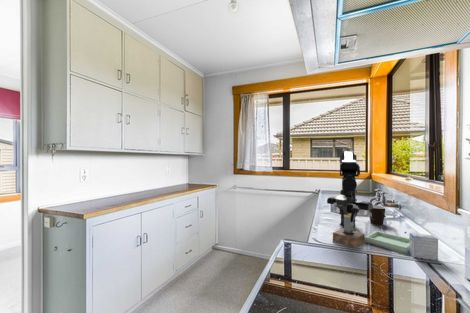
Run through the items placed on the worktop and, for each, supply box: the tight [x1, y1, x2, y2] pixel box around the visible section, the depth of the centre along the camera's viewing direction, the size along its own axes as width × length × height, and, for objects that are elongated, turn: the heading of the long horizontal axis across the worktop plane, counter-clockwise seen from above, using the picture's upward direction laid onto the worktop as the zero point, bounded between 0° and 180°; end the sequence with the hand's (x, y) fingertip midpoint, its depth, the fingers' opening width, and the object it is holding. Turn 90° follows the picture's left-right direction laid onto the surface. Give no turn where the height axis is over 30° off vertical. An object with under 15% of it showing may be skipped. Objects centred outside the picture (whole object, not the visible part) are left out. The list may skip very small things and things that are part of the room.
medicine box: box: [408, 232, 439, 261], centre depth 90 cm, size 8×4×9 cm, turn 71°
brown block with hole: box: [332, 227, 365, 248], centre depth 106 cm, size 10×10×4 cm
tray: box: [364, 230, 410, 255], centre depth 103 cm, size 16×14×2 cm
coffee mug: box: [368, 204, 386, 226], centre depth 132 cm, size 12×9×10 cm
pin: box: [343, 214, 354, 233], centre depth 106 cm, size 3×3×8 cm
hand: (348, 221), depth 106 cm, fingers closed on pin, 3 cm apart
